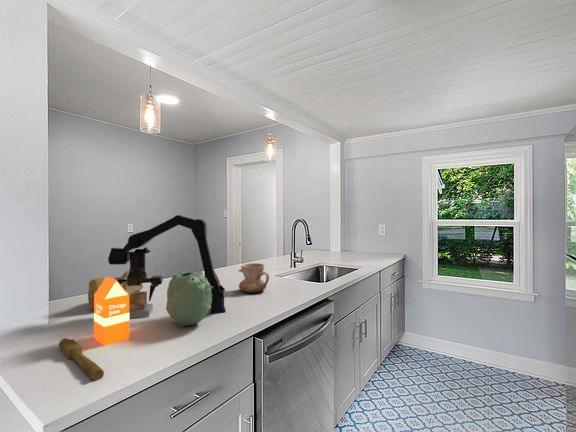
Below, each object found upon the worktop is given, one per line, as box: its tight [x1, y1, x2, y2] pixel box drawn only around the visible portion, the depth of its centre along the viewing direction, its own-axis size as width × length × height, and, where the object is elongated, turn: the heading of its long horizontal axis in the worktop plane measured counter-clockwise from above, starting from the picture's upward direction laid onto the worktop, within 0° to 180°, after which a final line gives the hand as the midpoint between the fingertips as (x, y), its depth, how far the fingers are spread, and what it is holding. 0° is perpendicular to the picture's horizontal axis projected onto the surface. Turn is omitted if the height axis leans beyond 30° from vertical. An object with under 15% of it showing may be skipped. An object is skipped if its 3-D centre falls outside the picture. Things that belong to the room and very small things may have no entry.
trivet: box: [129, 303, 154, 319], centre depth 126 cm, size 10×10×2 cm
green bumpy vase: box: [165, 270, 213, 327], centre depth 114 cm, size 16×19×20 cm
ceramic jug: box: [238, 262, 270, 294], centre depth 164 cm, size 18×14×14 cm
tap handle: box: [58, 337, 105, 382], centre depth 86 cm, size 3×3×30 cm
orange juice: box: [93, 276, 130, 347], centre depth 101 cm, size 8×9×20 cm
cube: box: [129, 290, 148, 311], centre depth 126 cm, size 6×6×6 cm
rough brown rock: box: [87, 270, 144, 311], centre depth 140 cm, size 23×17×15 cm
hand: (137, 301), depth 126 cm, fingers open, 9 cm apart
